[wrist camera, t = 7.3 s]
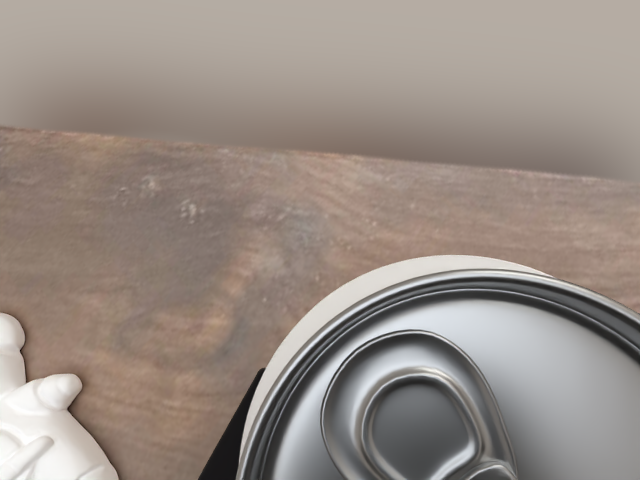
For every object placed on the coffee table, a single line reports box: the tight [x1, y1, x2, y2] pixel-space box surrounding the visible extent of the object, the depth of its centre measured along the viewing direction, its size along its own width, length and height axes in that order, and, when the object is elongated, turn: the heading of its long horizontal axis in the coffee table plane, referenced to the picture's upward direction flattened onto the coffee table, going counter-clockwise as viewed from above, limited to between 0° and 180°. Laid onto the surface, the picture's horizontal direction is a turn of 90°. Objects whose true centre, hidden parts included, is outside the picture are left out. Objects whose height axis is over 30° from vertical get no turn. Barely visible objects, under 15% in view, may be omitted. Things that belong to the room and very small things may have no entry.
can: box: [236, 255, 640, 480], centre depth 10 cm, size 6×6×12 cm
